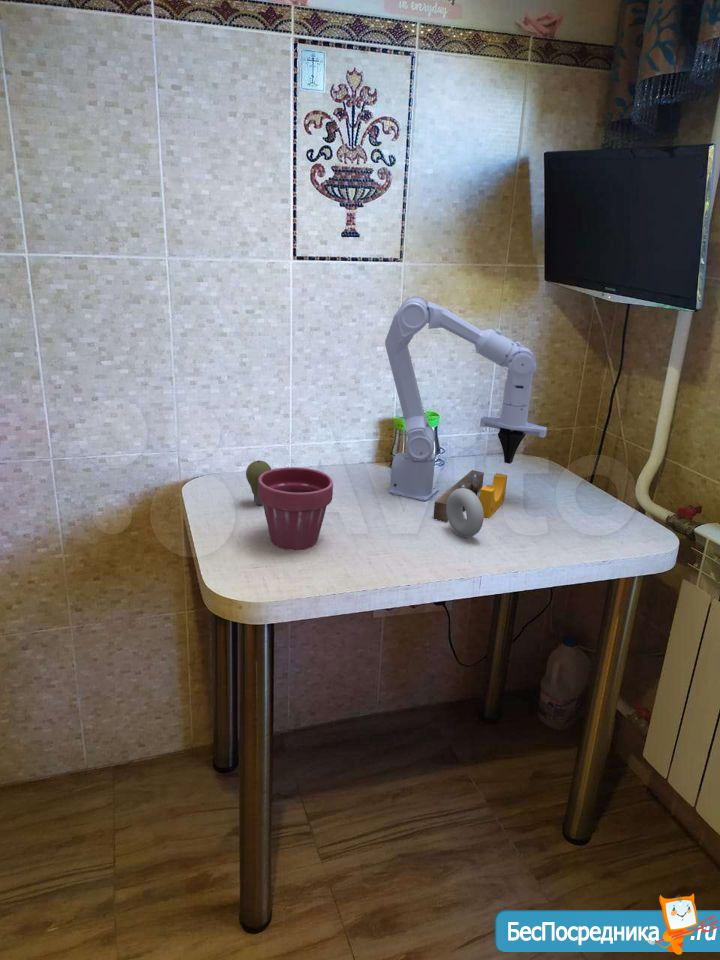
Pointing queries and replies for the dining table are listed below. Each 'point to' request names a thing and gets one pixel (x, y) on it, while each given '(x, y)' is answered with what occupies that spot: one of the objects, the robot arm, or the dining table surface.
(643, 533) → the dining table surface
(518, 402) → the robot arm
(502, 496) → the pipe clamp
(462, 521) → the donut
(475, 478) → the bench fence
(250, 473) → the light bulb
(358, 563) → the dining table surface
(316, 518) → the plant pot
